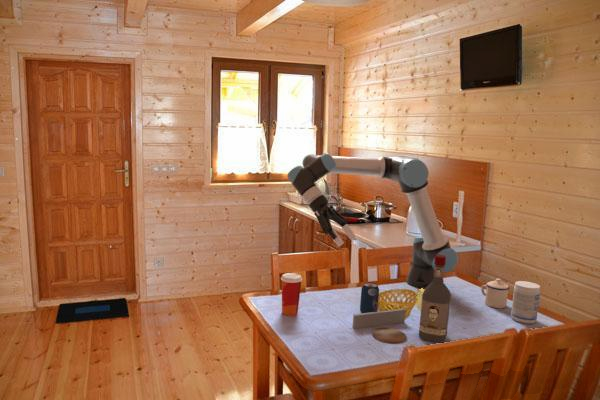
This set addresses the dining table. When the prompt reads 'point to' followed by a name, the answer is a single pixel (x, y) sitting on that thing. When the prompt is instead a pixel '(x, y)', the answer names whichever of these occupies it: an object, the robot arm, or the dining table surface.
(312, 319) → the dining table surface
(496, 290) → the teacup with lid
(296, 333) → the dining table surface
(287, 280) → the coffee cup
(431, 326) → the liquor
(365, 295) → the soda can
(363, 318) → the low wall
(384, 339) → the walnut coaster
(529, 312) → the supplement tub
